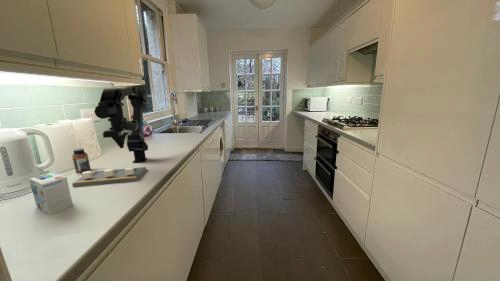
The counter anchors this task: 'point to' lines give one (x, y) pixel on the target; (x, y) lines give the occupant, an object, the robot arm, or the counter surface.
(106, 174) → the switch middle
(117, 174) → the switch panel
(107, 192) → the counter surface
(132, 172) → the switch
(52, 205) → the light bulb box
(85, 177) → the switch right
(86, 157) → the supplement bottle
